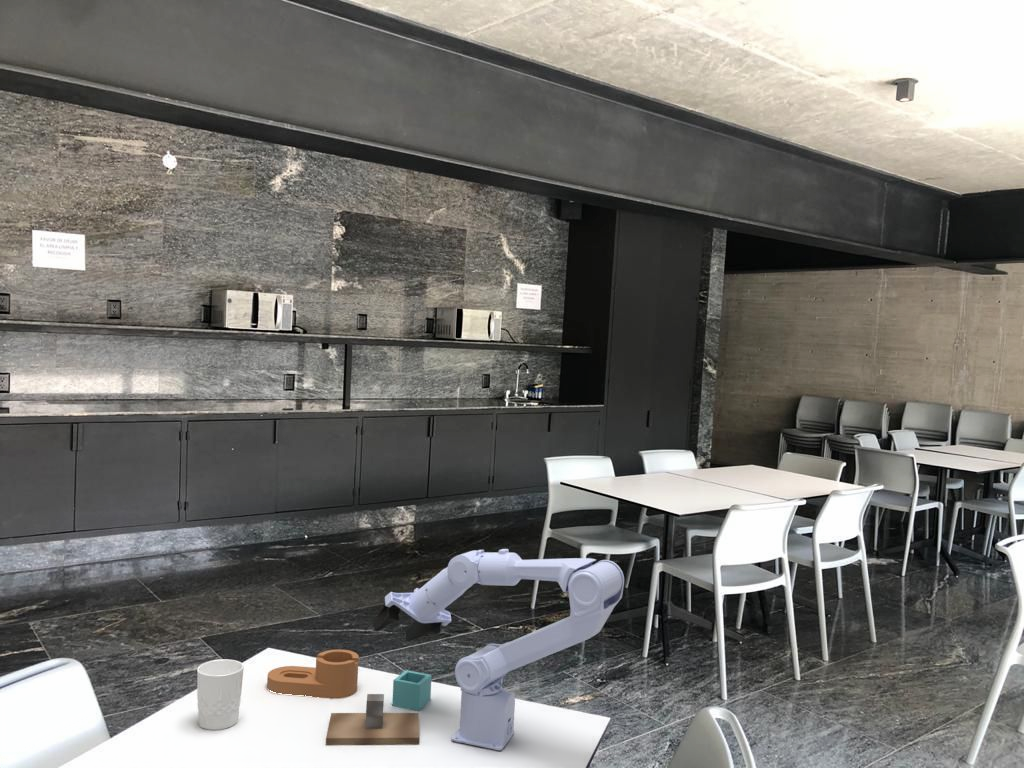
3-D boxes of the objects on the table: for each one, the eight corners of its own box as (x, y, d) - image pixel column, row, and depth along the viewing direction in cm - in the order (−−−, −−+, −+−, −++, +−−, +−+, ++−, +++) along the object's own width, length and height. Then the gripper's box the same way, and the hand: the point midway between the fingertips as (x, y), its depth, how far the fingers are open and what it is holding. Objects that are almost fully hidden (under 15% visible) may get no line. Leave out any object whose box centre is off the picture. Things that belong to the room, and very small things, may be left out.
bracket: (361, 684, 168) (362, 651, 168) (350, 701, 160) (352, 666, 160) (275, 677, 169) (276, 644, 169) (260, 694, 161) (262, 659, 161)
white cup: (222, 735, 143) (224, 678, 142) (185, 726, 145) (187, 670, 145) (250, 717, 150) (252, 663, 150) (214, 709, 153) (217, 656, 152)
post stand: (418, 719, 153) (419, 686, 153) (418, 744, 143) (420, 709, 143) (330, 719, 151) (332, 686, 151) (325, 745, 141) (327, 709, 141)
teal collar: (430, 699, 162) (431, 674, 162) (418, 710, 157) (420, 685, 157) (404, 694, 164) (405, 670, 164) (392, 705, 158) (393, 680, 158)
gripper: (463, 587, 159) (418, 622, 164) (404, 565, 151) (359, 603, 156) (468, 619, 154) (422, 654, 159) (408, 597, 146) (361, 635, 151)
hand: (391, 631), depth 157 cm, fingers open, 7 cm apart
